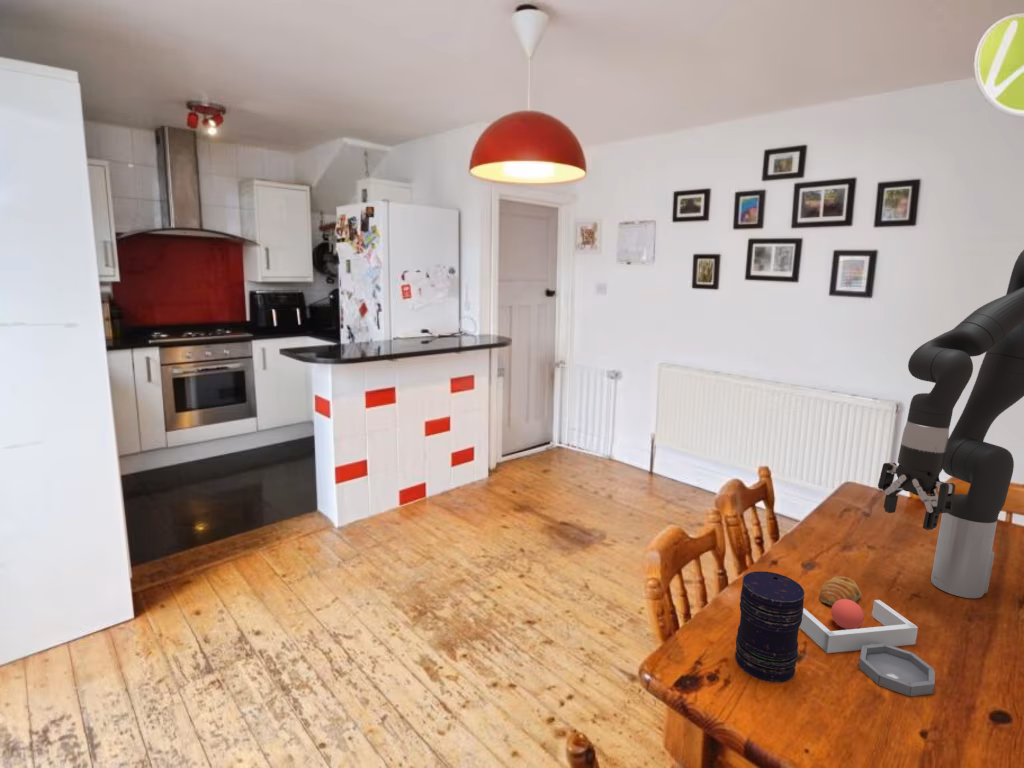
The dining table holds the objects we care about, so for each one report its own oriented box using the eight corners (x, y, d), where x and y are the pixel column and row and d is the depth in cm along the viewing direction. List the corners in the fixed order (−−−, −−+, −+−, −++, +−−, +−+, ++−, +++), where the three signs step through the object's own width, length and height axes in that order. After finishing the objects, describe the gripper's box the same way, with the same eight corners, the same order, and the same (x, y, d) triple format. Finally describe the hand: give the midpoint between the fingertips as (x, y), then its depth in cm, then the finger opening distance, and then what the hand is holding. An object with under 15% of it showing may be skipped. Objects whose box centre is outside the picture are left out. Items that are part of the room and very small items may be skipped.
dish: (897, 650, 104) (898, 641, 104) (949, 691, 94) (950, 682, 93) (845, 656, 102) (847, 647, 102) (892, 698, 92) (894, 688, 92)
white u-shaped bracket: (877, 615, 115) (879, 599, 114) (915, 644, 106) (918, 627, 105) (794, 623, 112) (796, 606, 111) (827, 653, 103) (829, 635, 102)
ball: (847, 617, 114) (851, 592, 113) (868, 634, 108) (872, 608, 107) (823, 619, 113) (826, 594, 112) (843, 637, 108) (846, 610, 107)
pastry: (844, 614, 115) (846, 597, 114) (810, 600, 120) (812, 583, 119) (862, 598, 121) (864, 582, 120) (829, 585, 126) (831, 569, 125)
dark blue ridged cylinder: (791, 691, 93) (802, 609, 90) (729, 669, 98) (736, 590, 95) (798, 657, 102) (808, 581, 99) (740, 638, 107) (747, 565, 104)
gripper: (973, 455, 110) (955, 534, 113) (904, 435, 123) (890, 506, 126) (944, 456, 108) (927, 536, 111) (878, 436, 121) (864, 507, 124)
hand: (908, 520), depth 119 cm, fingers open, 8 cm apart
